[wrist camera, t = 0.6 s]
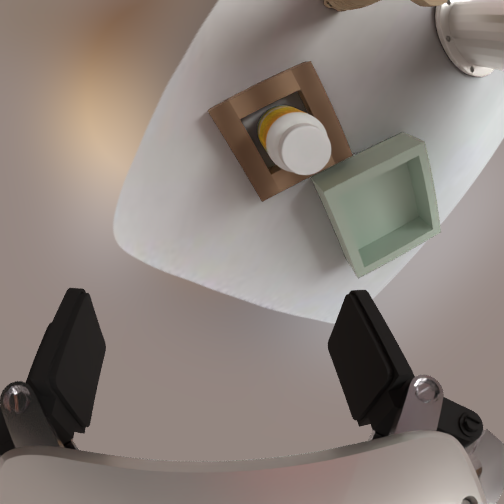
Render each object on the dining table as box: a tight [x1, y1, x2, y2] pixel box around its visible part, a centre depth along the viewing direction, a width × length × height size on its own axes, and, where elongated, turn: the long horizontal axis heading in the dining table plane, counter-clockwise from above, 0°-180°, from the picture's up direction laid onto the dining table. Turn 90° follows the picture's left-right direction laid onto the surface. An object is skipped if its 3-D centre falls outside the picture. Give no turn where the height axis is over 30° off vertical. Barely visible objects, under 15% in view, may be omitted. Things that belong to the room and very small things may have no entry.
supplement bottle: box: [257, 105, 331, 175], centre depth 26 cm, size 5×5×10 cm
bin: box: [311, 132, 441, 278], centre depth 34 cm, size 13×13×4 cm
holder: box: [208, 61, 353, 202], centre depth 29 cm, size 11×11×2 cm
